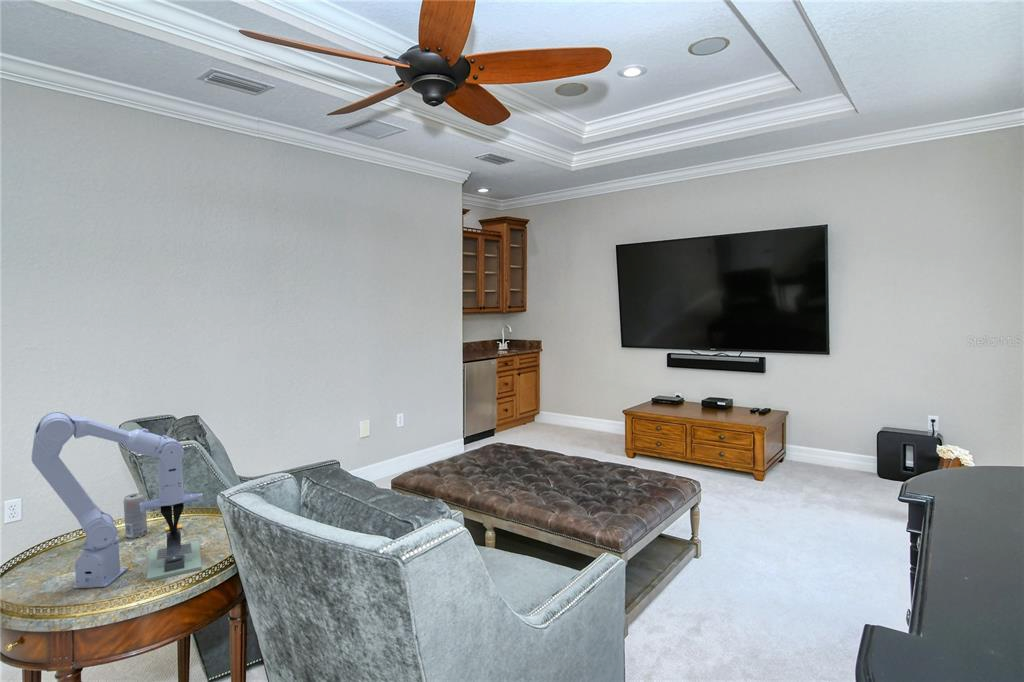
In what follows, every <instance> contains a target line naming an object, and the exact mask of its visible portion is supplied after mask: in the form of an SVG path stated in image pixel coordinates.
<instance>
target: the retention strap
mask: <svg viewBox="0 0 1024 682" xmlns="http://www.w3.org/2000/svg"><path fill="white" fill-rule="evenodd" d="M173 526H174V524H173ZM182 530H183V524H182V523H179V524H177V532H175V533H171V532H170V528H169V525H168V526H164V533H165V534H166V547H167V558H166V563H167V562H171V561H176V560H181V559H182V555H181V544H182V541H181V537H182V536H181V535H182V533H181V531H182Z"/></svg>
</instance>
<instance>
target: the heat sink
mask: <svg viewBox="0 0 1024 682" xmlns="http://www.w3.org/2000/svg"><path fill="white" fill-rule="evenodd" d="M181 544H182V545H181V555H182V559H184V562H189V561H192V549H191V542H188V543H187V544H186V543H181ZM166 558H167V548H166V547H162V549H161V548H157V560H156V563H157V568H161V567H164V563H165V562H166Z"/></svg>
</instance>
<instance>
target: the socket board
mask: <svg viewBox="0 0 1024 682" xmlns="http://www.w3.org/2000/svg"><path fill="white" fill-rule="evenodd" d="M190 543H191V549H192V561H189V562H184V559H181V560H176V561H171V562H167V563H166V562H165V563H164V567H161V568H157V563H156V560H157V549H158V548H157V549H153V550H149V554H148V563H147V564H148V565H147V571H146V573H147V574H146V582H152V581H157V580H162V579H165V578H169V577H175V576H179V575H184V574H187V573H192V572H197V571H201V570H202V560H201V547H200V546H201V545H200V540H198V541H191V542H190ZM182 544H183V543H181V545H182ZM185 544H187V543H185ZM162 548H163V547H162ZM162 548H160V549H162ZM165 548H167V546H166V547H165Z"/></svg>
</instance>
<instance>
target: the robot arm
mask: <svg viewBox="0 0 1024 682" xmlns="http://www.w3.org/2000/svg"><path fill="white" fill-rule="evenodd" d="M33 435H34V436H33V443H32V449H31V462H32V464H33V465H34V467H35V468H36V469H37V471H39V473H40V474H41V475H42V477H43V478H44V479H45V481H46V482H47V483H48V484H49V486H50V487H51V488H52V490H53V491H54V492H55V493H56V495H57V496H58V497H59V498H60V500H62V501H61V502H63V503H64V505H66V507H67V508H68V510H69V511H70V512H71V514H72V515H73V516H74V517H75V518H76V520H77V522H78V523H79V525H80V527H81V528H82V529H83V531H84V533H85V539H86V540H85V541H84V543H83V544H82V547H83V548H82V553H81V554H80V556H79V557H77V559H76V560H75V564H74V569H75V584H74V585H72V588H73V589H86V588H104V587H106V588H107V587H108V586H109V585H111V583H113V582H114V581H115V580H116V579H118V578H119V577H120V576H121V575H123V574H124V573H125V572H126V571H127V570H128V569H129V566H121V558H120V543H119V536H118V535H119V534H118V533H119V531H118V527H117V526H116V525H115V522H114V519H113V516H112V515H110V514H109V513H107V512H104V511H103V510H101V509H100V507H99V506H98V505H97V504H95V502H94V500H93V499H92V497H90V496H89V494H88V492H87V491H86V490H85V489H84V487H83V486H82V485H81V484H80V482H79V481H78V479H77V478H76V477H75V476H74V474H73V473H72V472H71V470H70V469H69V468H68V466H67V465H66V464H65V463H64V461H63V460H62V458H60V454H61V452H62V450H63V448H64V446H65V444H66V443H67V442H68V441H69V440H70V439H71V438H72V436H73V437H74V439H80V438H83V437H87V436H92V437H95V438H98V439H104V440H106V441H111V442H115V443H119V444H123V446H124V449H125V450H126V451H129V452H132V453H136V454H140V455H143V456H147V457H151V458H156V457H157V462H158V463H157V476H158V477H157V478H158V498H155V499H151V500H148V501H147V500H146V501H145V502H142V503H140V512H144V511H145V510H146V511H151V510H154V509H155V510H156V509H160V513H161V515H162V516H163V519H165V521H166V523H167V525H168V526H169V528H170V532H171V533H175V532H177V525H178V523H179V521H180V519H181V515H182V513H183V511H184V505H187V504H191V503H202V502H203V499H204V498H203V492H199V493H185V491H184V472H183V463H182V462H183V457H184V455H185V450H184V448H183V445H182V444H181V443H180V442H179V441H178V440H176V439H175V438H172V436H167V435H165V434H162V435H159V434H156V433H153V432H149V428H148V429H147V428H142V429H139V428H136V429H133V430H131V431H128V430H126V429H121V428H119V427H116V426H113V425H109V424H107V423H104V422H101V421H98V420H94V419H91V418H88V417H84V416H81V415H76V414H72V413H71V414H69V415H68V414H67V413H65V412H62V411H52V412H49V413H46V415H43V416H42V418H41V419H40V421H39V422H38V424H37V426H36V427H35V429H34V434H33ZM173 525H174V526H173Z"/></svg>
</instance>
